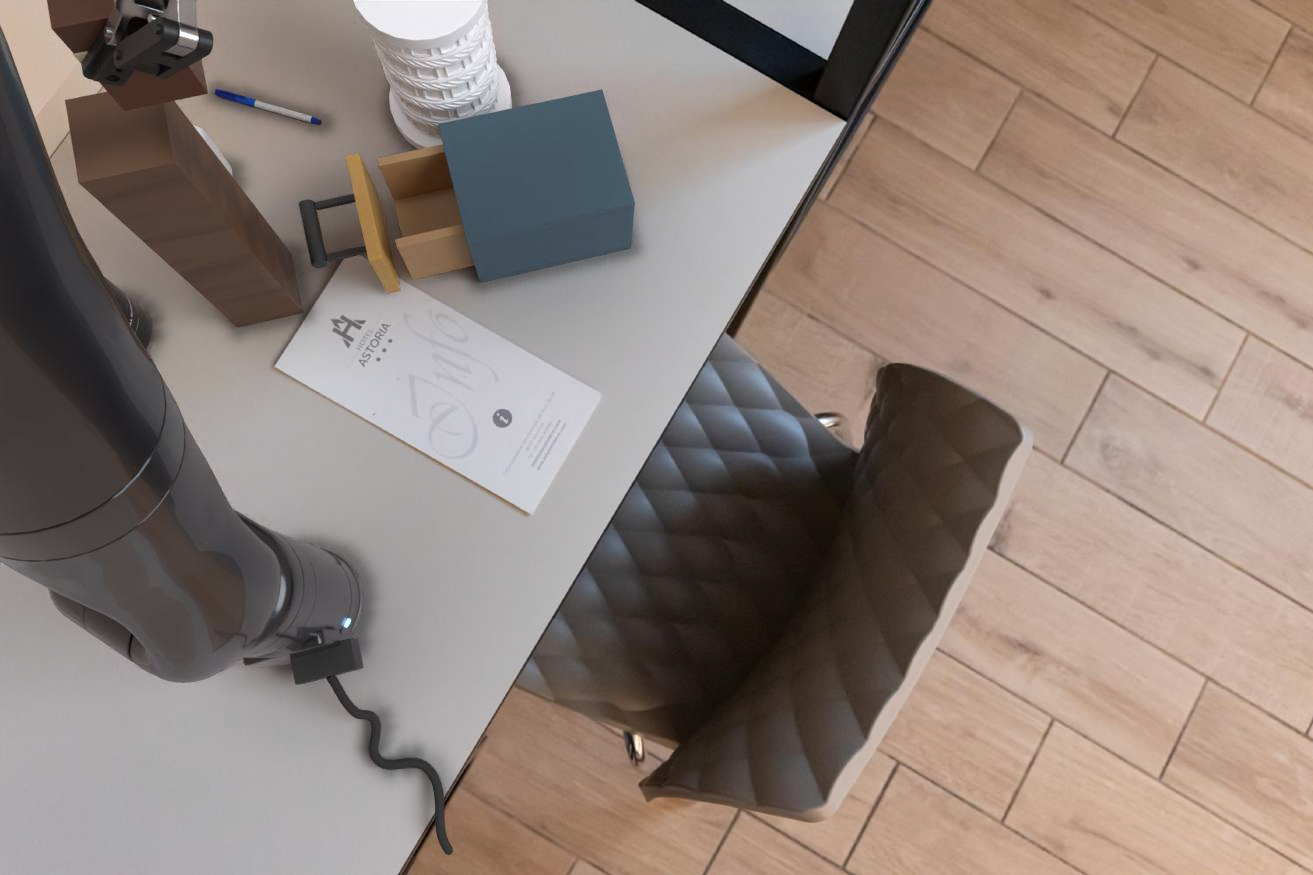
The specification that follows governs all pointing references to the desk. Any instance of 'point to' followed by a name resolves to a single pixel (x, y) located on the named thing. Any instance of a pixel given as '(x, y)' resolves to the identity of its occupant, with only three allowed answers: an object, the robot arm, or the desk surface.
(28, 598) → the desk surface
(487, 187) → the cabinet
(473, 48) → the decorative container
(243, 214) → the riser
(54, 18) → the chocolate carton
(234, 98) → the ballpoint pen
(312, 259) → the drawer
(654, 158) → the desk surface
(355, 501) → the desk surface
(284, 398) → the desk surface
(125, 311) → the supplement bottle
